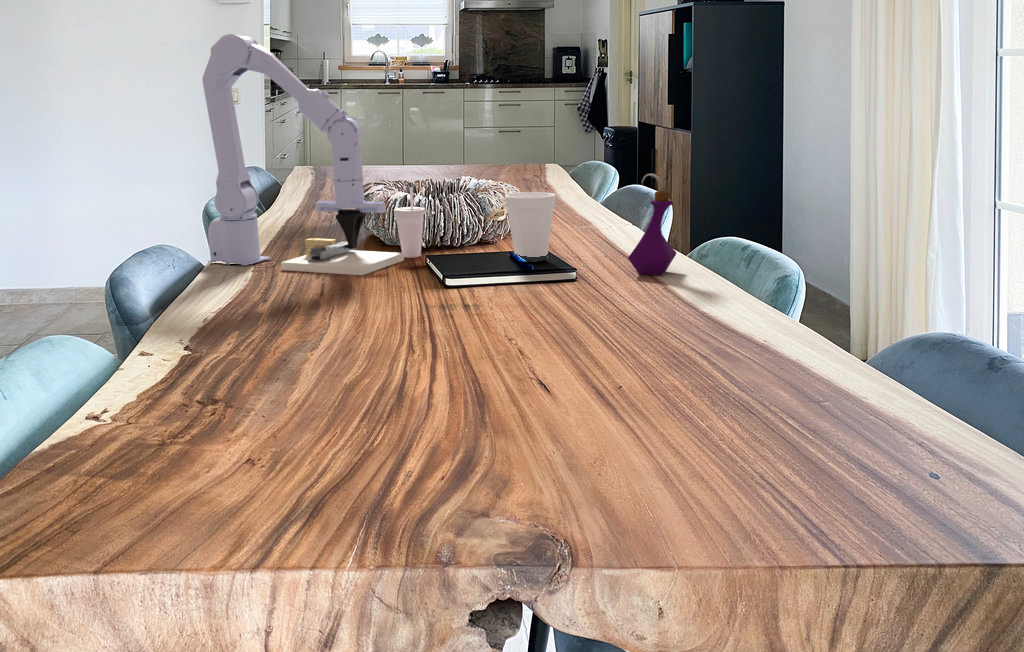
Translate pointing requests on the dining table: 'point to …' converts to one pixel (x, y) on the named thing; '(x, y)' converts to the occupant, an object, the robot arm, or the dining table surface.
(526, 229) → the cup
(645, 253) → the perfume bottle
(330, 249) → the latch bar
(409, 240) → the smoothie
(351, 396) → the dining table surface
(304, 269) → the base board
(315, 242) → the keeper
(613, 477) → the dining table surface
